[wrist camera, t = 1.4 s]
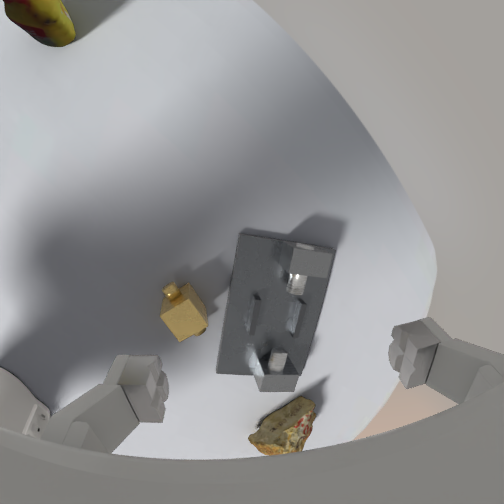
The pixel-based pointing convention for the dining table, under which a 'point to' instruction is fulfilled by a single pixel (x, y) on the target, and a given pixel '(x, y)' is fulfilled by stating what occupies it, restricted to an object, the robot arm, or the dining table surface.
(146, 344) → the dining table surface
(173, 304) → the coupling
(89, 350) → the dining table surface
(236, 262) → the dark grey baseplate
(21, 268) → the dining table surface
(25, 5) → the red yellow oblong piece
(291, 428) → the rock
